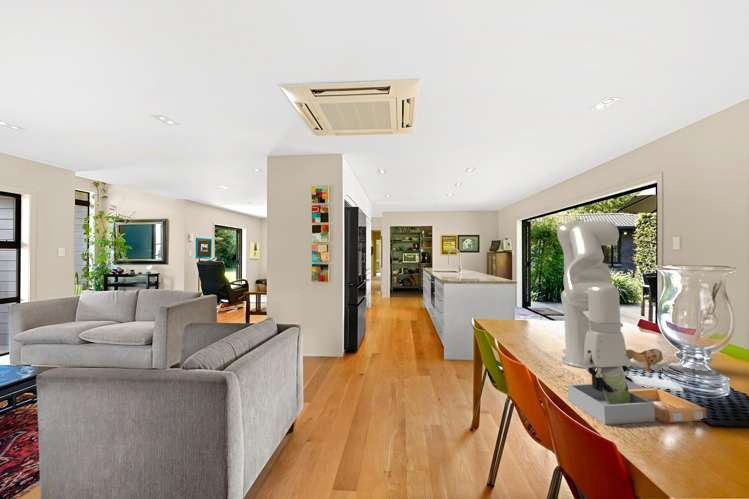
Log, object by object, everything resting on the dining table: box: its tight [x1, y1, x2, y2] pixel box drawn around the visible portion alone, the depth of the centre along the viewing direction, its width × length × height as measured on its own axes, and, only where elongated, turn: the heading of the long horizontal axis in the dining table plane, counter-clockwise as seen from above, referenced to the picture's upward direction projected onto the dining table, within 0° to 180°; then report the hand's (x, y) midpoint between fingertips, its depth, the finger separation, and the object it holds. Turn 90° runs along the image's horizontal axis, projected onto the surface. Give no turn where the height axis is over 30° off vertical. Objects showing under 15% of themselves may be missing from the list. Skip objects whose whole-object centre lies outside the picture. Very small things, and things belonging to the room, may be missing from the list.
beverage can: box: [600, 367, 632, 405], centre depth 92 cm, size 6×7×12 cm
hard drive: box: [630, 375, 684, 393], centre depth 110 cm, size 2×8×12 cm
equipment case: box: [587, 378, 708, 424], centre depth 99 cm, size 29×12×3 cm, turn 4°
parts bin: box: [567, 383, 656, 426], centre depth 92 cm, size 14×14×5 cm
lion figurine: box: [626, 348, 664, 373], centre depth 125 cm, size 15×5×9 cm, turn 35°
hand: (607, 388), depth 93 cm, fingers open, 5 cm apart
